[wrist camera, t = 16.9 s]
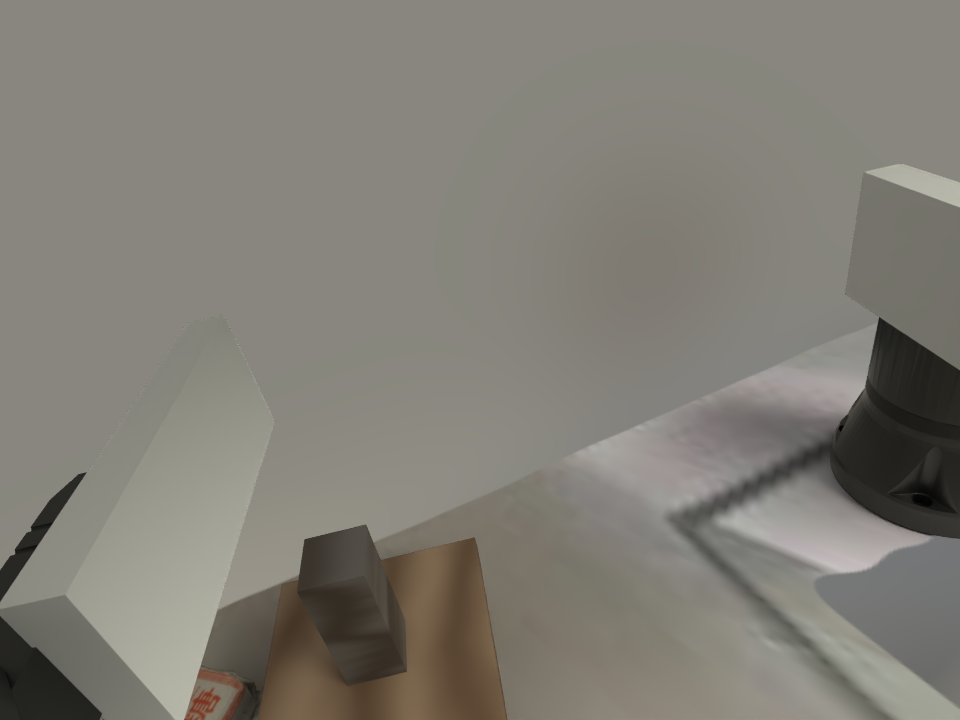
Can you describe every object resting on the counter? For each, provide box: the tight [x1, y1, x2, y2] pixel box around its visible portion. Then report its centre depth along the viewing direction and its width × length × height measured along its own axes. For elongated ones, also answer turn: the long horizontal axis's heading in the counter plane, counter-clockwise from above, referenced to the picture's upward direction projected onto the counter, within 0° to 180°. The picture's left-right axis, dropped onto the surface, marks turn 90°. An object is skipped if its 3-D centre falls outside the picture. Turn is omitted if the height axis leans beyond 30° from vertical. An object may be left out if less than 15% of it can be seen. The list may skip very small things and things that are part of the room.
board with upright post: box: [258, 525, 507, 720], centre depth 39 cm, size 16×16×11 cm
